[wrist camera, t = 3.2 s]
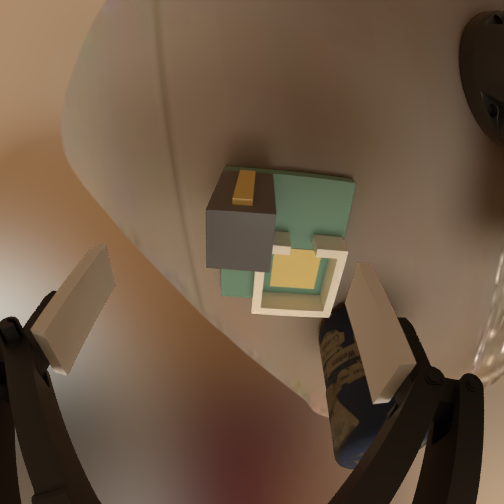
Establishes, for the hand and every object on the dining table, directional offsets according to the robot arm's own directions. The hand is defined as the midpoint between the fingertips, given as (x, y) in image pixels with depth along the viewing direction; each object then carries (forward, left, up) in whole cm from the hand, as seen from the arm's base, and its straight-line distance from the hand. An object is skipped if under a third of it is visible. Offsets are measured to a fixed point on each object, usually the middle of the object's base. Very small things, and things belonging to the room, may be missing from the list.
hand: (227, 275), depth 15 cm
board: (+4, +4, -13) cm, 14 cm away
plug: (0, 0, -11) cm, 11 cm away
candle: (+15, +14, -13) cm, 25 cm away
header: (+7, +5, -11) cm, 14 cm away
